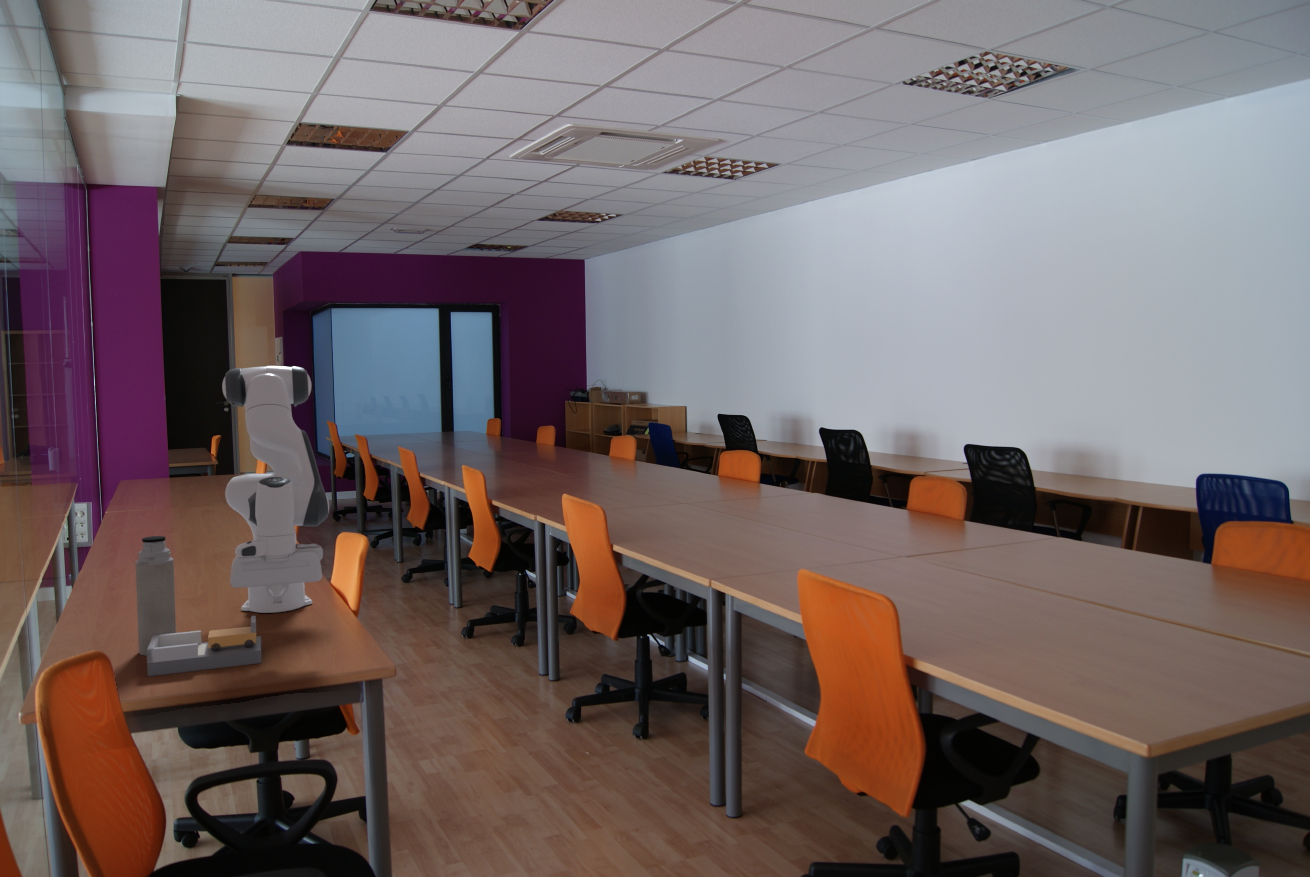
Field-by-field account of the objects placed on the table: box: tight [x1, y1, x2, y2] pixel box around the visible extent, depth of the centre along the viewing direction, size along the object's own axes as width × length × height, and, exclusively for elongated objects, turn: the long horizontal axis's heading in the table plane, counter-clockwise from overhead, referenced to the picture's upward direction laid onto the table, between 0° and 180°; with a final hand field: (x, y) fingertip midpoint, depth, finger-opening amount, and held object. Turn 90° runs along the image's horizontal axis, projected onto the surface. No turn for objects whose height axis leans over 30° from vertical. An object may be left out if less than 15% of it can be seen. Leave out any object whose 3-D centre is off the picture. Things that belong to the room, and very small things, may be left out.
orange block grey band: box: [207, 615, 257, 652], centre depth 205 cm, size 6×10×6 cm, turn 114°
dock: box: [146, 630, 262, 677], centre depth 203 cm, size 12×23×6 cm, turn 114°
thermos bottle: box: [135, 535, 177, 657], centre depth 210 cm, size 8×8×28 cm
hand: (277, 602), depth 208 cm, fingers closed
